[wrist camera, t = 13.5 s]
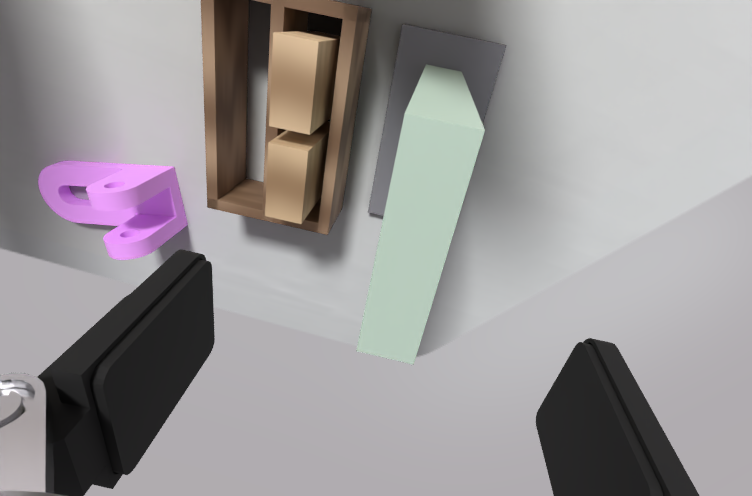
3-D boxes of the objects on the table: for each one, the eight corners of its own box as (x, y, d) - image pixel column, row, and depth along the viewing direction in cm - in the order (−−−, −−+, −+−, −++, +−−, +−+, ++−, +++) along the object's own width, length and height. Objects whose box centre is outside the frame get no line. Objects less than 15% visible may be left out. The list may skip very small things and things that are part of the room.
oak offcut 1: (314, 30, 29) (273, 32, 22) (348, 37, 29) (318, 41, 22) (307, 103, 31) (268, 125, 24) (339, 110, 31) (309, 134, 24)
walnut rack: (237, -19, 28) (200, -27, 24) (371, 8, 28) (358, 5, 23) (236, 185, 35) (207, 207, 31) (341, 208, 35) (327, 234, 31)
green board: (426, 64, 28) (404, 113, 13) (461, 71, 28) (485, 130, 12) (397, 197, 33) (356, 351, 17) (427, 203, 33) (413, 364, 17)
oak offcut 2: (306, 116, 32) (268, 142, 25) (337, 123, 32) (308, 151, 25) (301, 177, 34) (264, 215, 27) (330, 183, 34) (301, 224, 27)
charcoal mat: (403, 24, 28) (402, 24, 27) (505, 45, 27) (506, 45, 27) (369, 209, 35) (367, 212, 34) (450, 227, 34) (450, 230, 34)
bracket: (175, 166, 36) (120, 194, 29) (188, 224, 38) (140, 261, 32) (42, 158, 37) (-37, 184, 31) (63, 214, 40) (-5, 248, 34)
